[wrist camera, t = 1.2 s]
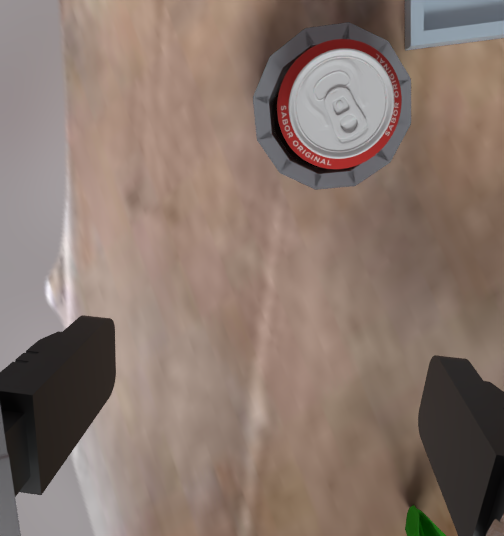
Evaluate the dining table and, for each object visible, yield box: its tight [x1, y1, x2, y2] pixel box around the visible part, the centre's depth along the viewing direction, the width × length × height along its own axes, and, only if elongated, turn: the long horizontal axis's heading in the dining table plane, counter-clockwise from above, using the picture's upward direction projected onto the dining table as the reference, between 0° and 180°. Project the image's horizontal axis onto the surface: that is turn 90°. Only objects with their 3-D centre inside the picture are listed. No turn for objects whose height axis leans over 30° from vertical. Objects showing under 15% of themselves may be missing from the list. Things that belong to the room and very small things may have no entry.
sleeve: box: [253, 22, 411, 190], centre depth 31 cm, size 10×10×4 cm
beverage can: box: [277, 39, 402, 169], centre depth 28 cm, size 6×6×12 cm
